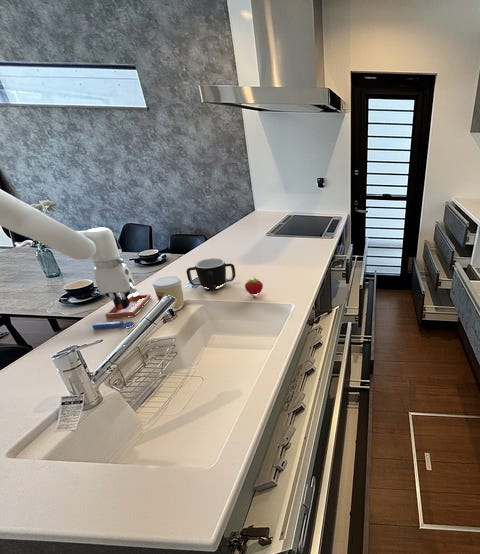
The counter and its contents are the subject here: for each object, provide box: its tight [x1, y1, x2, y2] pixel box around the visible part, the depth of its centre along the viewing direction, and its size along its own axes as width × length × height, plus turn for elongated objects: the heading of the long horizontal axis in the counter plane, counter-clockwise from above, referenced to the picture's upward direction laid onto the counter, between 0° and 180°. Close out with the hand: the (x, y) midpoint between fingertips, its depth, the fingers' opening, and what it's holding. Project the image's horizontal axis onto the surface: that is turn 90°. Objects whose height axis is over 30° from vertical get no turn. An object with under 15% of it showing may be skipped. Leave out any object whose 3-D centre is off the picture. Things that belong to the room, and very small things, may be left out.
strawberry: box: [244, 277, 264, 295], centre depth 133 cm, size 6×8×10 cm
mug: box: [186, 258, 236, 291], centre depth 140 cm, size 16×16×12 cm
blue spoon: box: [91, 320, 135, 331], centre depth 109 cm, size 12×4×2 cm, turn 103°
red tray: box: [104, 294, 152, 320], centre depth 121 cm, size 9×15×2 cm, turn 13°
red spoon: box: [118, 292, 140, 310], centre depth 120 cm, size 12×4×2 cm, turn 13°
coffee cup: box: [152, 276, 185, 311], centre depth 121 cm, size 9×9×12 cm
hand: (123, 307), depth 116 cm, fingers closed on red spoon, 1 cm apart
